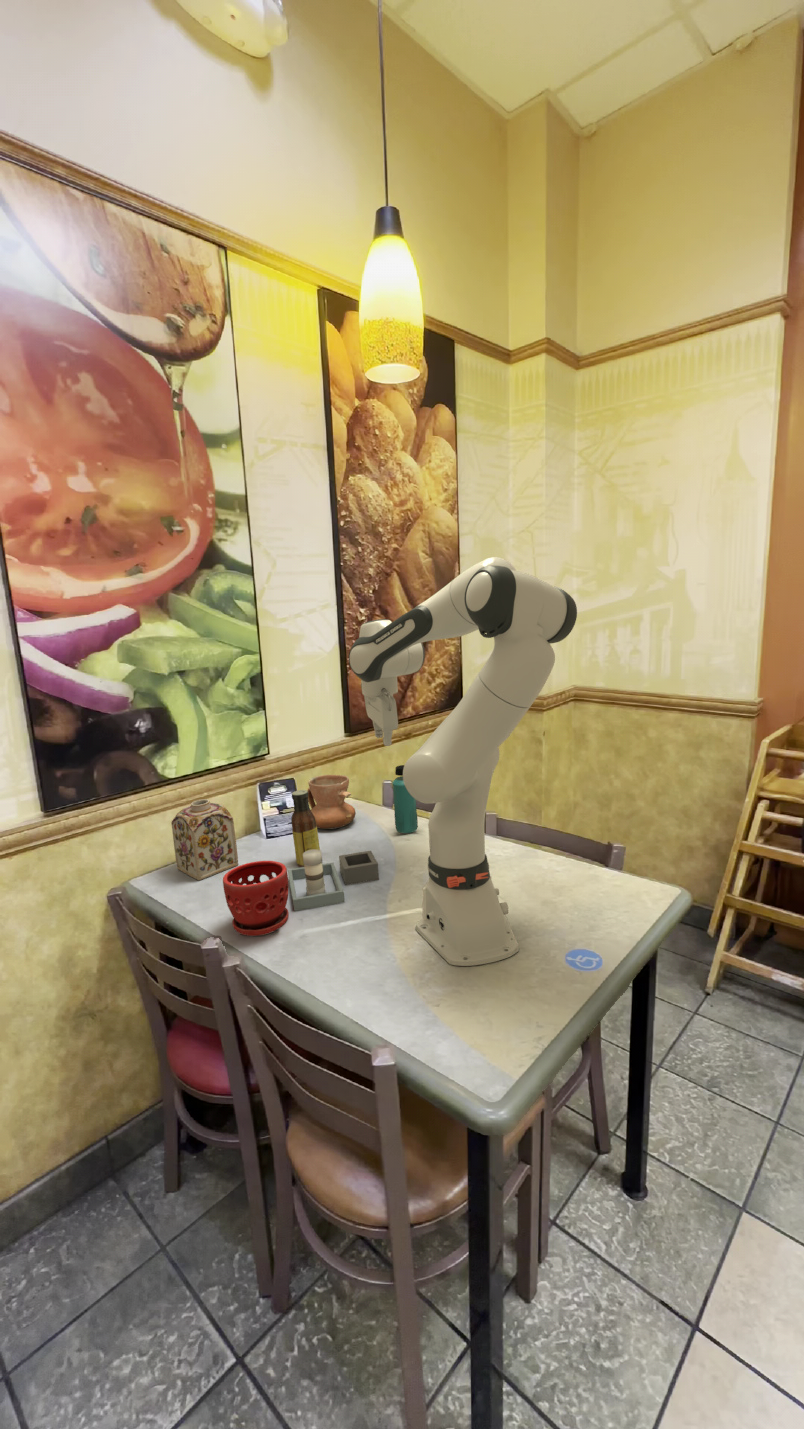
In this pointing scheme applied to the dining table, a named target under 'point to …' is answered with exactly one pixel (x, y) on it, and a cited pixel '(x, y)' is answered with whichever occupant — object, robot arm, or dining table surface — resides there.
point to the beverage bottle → (403, 805)
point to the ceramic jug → (330, 801)
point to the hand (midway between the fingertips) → (383, 741)
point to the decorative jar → (204, 839)
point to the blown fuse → (314, 872)
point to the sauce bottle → (303, 826)
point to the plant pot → (257, 897)
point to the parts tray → (316, 899)
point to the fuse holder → (358, 867)
